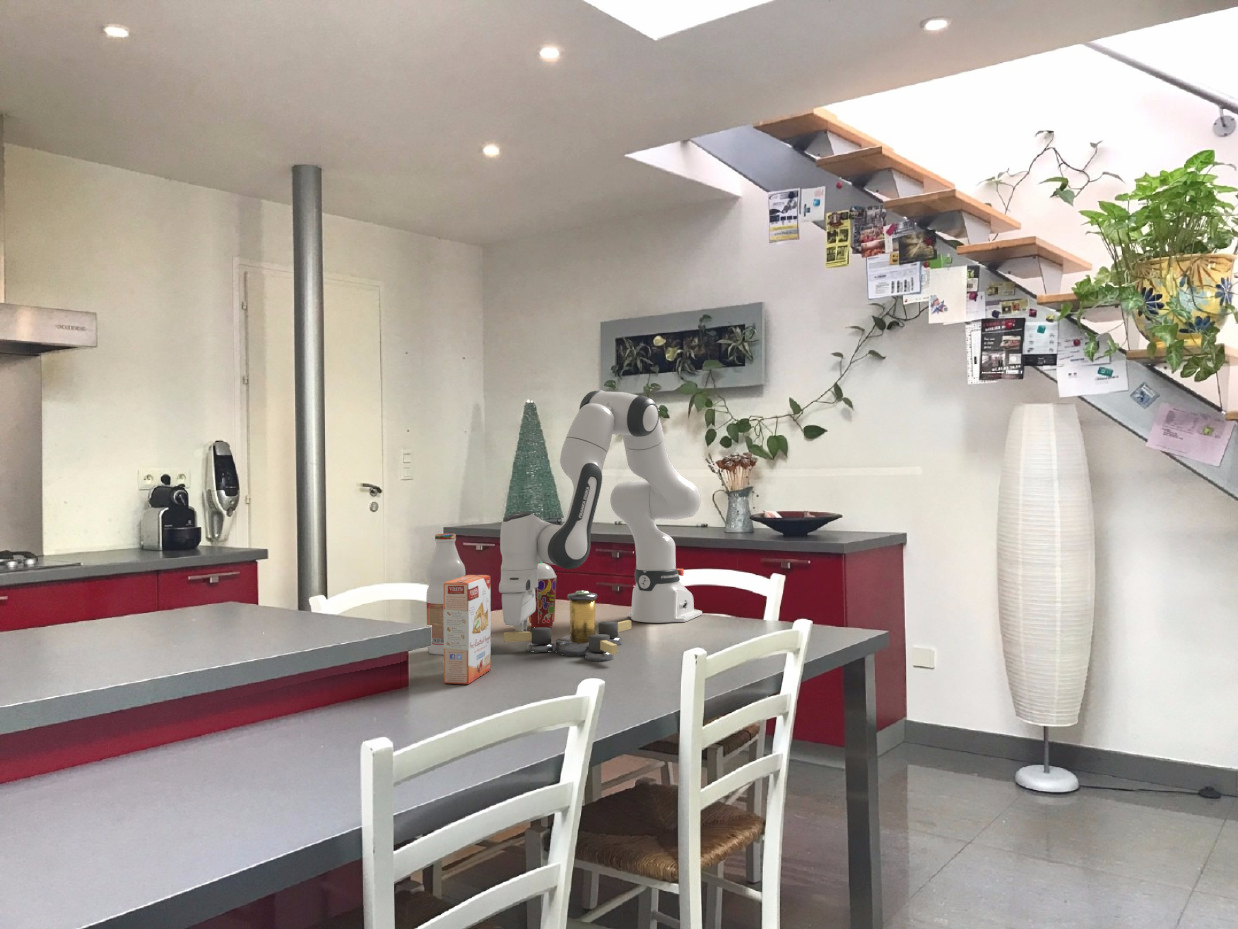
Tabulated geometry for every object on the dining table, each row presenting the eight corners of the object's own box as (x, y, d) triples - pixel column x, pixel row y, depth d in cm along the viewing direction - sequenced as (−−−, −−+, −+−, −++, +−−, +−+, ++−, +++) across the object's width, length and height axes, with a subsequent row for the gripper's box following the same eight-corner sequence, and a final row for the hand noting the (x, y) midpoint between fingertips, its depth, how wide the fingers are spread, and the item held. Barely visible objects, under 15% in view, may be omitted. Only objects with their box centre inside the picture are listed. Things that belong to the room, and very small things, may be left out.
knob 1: (550, 640, 237) (550, 626, 237) (552, 644, 233) (551, 630, 233) (504, 642, 236) (503, 628, 236) (504, 645, 231) (504, 632, 231)
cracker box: (470, 685, 200) (469, 582, 200) (442, 684, 201) (440, 582, 201) (493, 670, 213) (491, 574, 213) (466, 669, 215) (465, 573, 214)
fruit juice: (439, 657, 228) (437, 536, 228) (420, 651, 236) (418, 534, 235) (474, 651, 234) (472, 534, 234) (454, 646, 242) (452, 532, 241)
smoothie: (556, 629, 263) (554, 554, 263) (524, 629, 263) (523, 554, 263) (558, 623, 272) (557, 551, 271) (528, 624, 272) (527, 551, 272)
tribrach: (578, 637, 251) (577, 580, 251) (655, 646, 237) (655, 587, 237) (522, 651, 234) (521, 590, 234) (602, 662, 220) (601, 598, 220)
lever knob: (610, 638, 238) (610, 625, 238) (594, 636, 241) (594, 623, 241) (636, 631, 247) (636, 618, 247) (621, 629, 250) (621, 617, 250)
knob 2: (585, 649, 226) (585, 635, 226) (604, 647, 228) (604, 633, 228) (604, 658, 215) (604, 643, 215) (624, 656, 217) (624, 641, 217)
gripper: (516, 574, 247) (517, 629, 248) (496, 586, 227) (498, 646, 227) (541, 574, 247) (542, 629, 247) (523, 586, 226) (525, 646, 227)
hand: (521, 637), depth 237 cm, fingers closed
